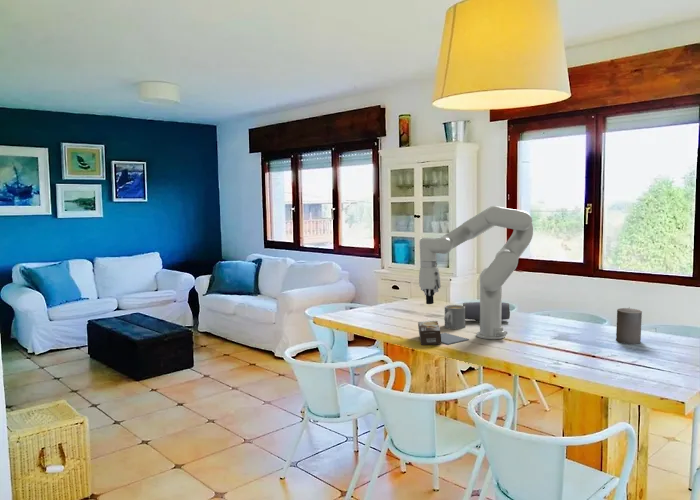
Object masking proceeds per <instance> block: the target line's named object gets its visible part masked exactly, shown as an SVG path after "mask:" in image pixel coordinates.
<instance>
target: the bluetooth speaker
mask: <svg viewBox="0 0 700 500" xmlns="http://www.w3.org/2000/svg"><path fill="white" fill-rule="evenodd" d="M462 306H465V320H467V321H468V320H469V321H475V322H476V323H480V301H477V302H472V301H471V302H464V303H463V302H462ZM510 316H511V311H510V304H509V303H508V302H502V303H501V321H504V320H510Z"/></svg>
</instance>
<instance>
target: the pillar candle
mask: <svg viewBox="0 0 700 500" xmlns="http://www.w3.org/2000/svg"><path fill="white" fill-rule="evenodd" d="M642 313H643V311H642V310H641V309H636V308H630V307H623V308H617V309H616V330H615V331H616V333H615V336H616V338H615V341H616V342H617V343H620V344H621V343H622V344H625V345H626V344H628V345H638V344H641V339H642V320H643V319H642V316H643V315H642Z"/></svg>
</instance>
